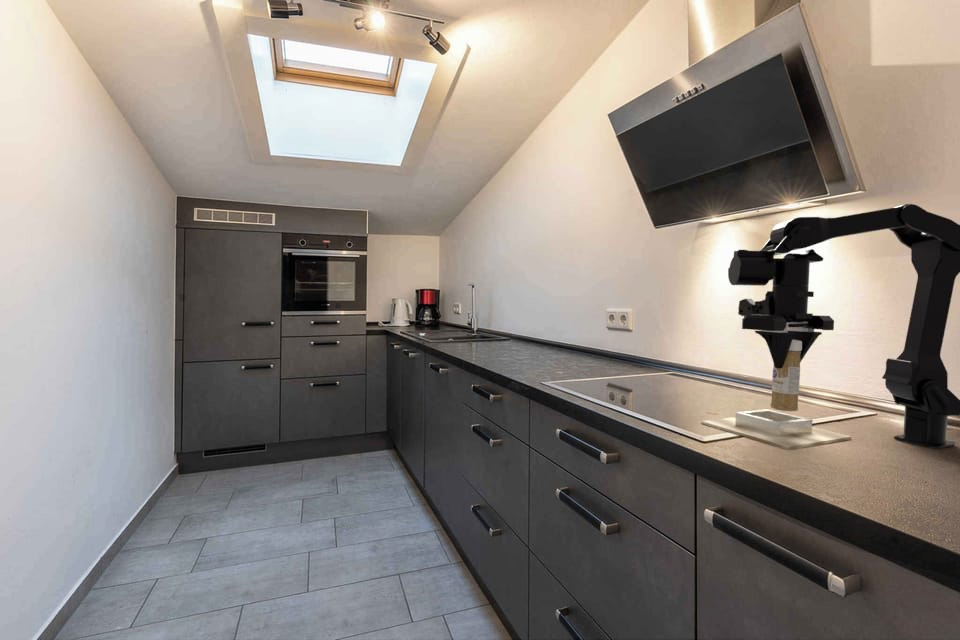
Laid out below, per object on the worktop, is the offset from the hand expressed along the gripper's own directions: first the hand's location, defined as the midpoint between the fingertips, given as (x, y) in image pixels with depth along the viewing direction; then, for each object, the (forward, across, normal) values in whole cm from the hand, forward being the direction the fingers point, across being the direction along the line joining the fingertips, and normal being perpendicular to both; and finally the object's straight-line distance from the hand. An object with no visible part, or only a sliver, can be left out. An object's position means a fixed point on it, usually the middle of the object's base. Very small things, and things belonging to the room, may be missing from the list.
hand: (786, 367), depth 88 cm
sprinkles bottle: (+8, 0, 0) cm, 8 cm away
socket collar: (+13, -1, -2) cm, 13 cm away
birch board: (+13, -1, -2) cm, 13 cm away
